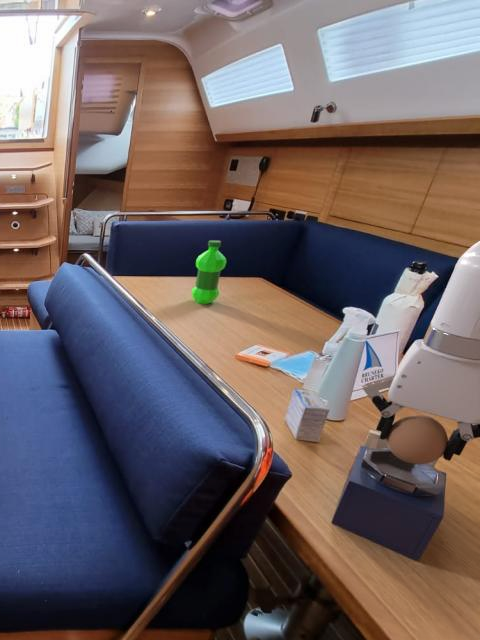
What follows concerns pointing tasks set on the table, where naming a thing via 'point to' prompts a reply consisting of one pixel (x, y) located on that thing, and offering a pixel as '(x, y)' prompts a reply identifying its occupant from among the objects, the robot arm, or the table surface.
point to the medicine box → (306, 415)
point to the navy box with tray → (387, 513)
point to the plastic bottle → (208, 274)
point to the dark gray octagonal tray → (402, 474)
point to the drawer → (380, 442)
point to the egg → (417, 439)
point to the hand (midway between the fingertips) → (413, 444)
